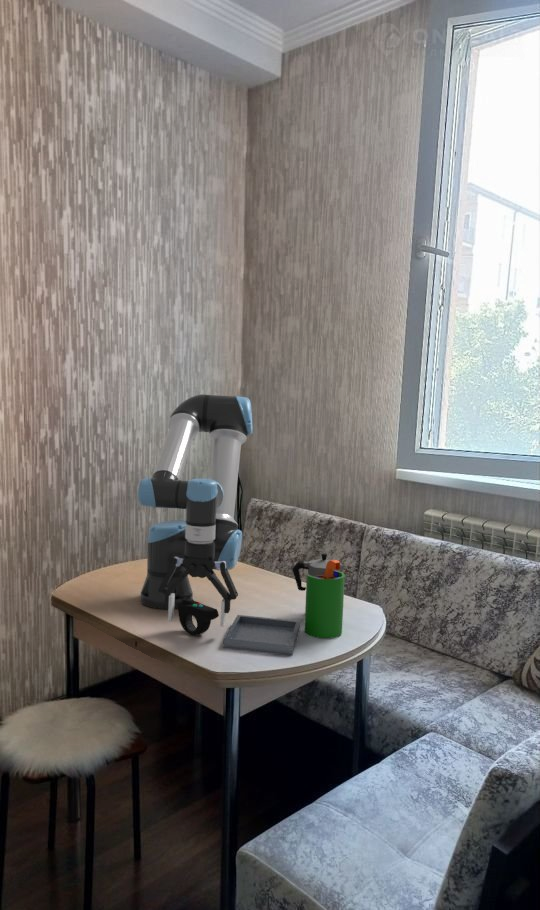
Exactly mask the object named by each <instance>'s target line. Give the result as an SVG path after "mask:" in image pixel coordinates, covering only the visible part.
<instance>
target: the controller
mask: <svg viewBox="0 0 540 910" xmlns="http://www.w3.org/2000/svg"><path fill="white" fill-rule="evenodd" d="M184 596H186V598H185V599H183V600H180V601H178V602H177V603H178V608H177V611H178V612H177V613H178V619H179V623H180V625H181V627H182V629H183V630H184V631H185V632H186V633H187V634H188V635H191V636H200V635H202V634H205V633H206V632H207V631H208V630H209V629H210V627H211V623H212V620H215V619H217V618H218V617H220V614H219V611H218V609H217V608H214V607H211V606H209V605H206V604H203V603H201V602H199V601H195V600H194V599H192V598H191V596H192V593H185V594H184ZM193 617H194V618H195V620H196V625H195V624H194V622H193V621H194V620H193Z"/></svg>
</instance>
